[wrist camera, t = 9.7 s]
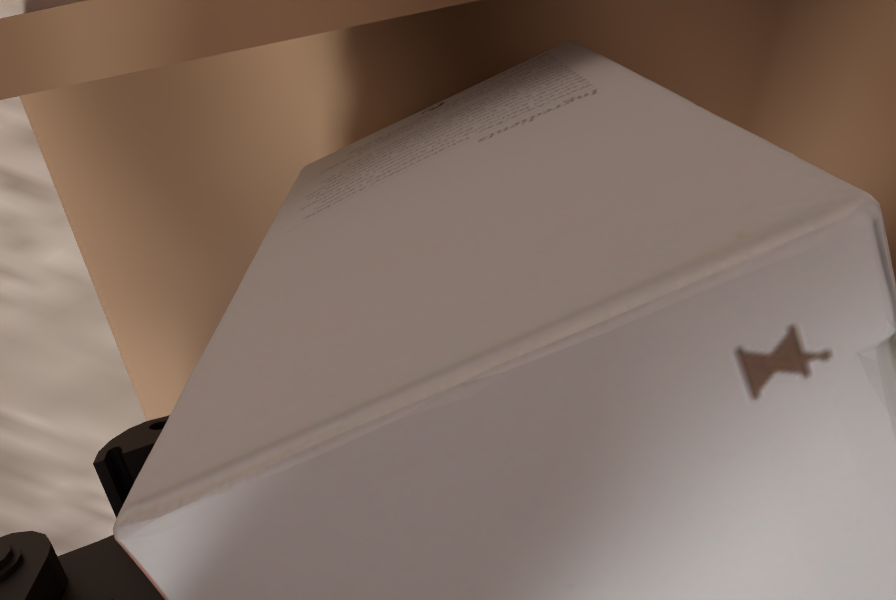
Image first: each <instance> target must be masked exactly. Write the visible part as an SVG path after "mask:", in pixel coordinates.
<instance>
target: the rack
mask: <svg viewBox="0 0 896 600" xmlns="http://www.w3.org/2000/svg"><path fill="white" fill-rule="evenodd" d="M569 40H572V41H574V42H576V43H578V44H580V45H582V46H584V47H586V48H588V49H590V50H592V51H594V52H596V53H598V54H600V55H602V56H604V57H606V58H608V59H610V60H612V61H614V62H616V63H618V64H620V65H622V66H623V67H625V68H627V69H629V70H631V71H633V72H635V73H637V74H639V75H640V76H642V77H644V78H647V79H649V80H651V81H653V82H655V83H657V84H658V85H660V86H662V87H664V88H666V89H668V90H670V91H672V92H674V93H676V94H677V95H679V96H681V97H683V98H685V99H687V100H689V101H691V102H692V103H694V104H695V105H697V106H699V107H702V108H704V109H705V110H707V111H709V112H711V113H713V114H715V115H717V116H719V117H721V118H723V119H725V120H727V121H729V122H731V123H733V124H735V125H737V126H739V127H741V128H743V129H745V130H747V131H749V132H751V133H753V134H755V135H757V136H759V137H761V138H763V139H765V140H767V141H769V142H770V143H772V144H774V145H776V146H777V147H779V148H781V149H783V150H786V151H788V152H790V153H792V154H794V155H795V156H797V157H798V158H800V159H802V160H804V161H806V162H808V163H810V164H812V165H814V166H816V167H818V168H819V169H821V170H823V171H825V172H827V173H829V174H831V175H833V176H835V177H837V178H839V179H841V180H843V181H845V182H847V183H849V184H851V185H853V186H855V187H857V188H859V189H861V190H863V191H865V192H867V193H869V194H870V195H871V196H872V197H874V198H875V199H876V200H877V201H878V202H879V204H880V208H881V212H882V216H883V221H884V225H885V230H886V235H887V241H888V246H889V251H890V257H891V262H892V267H893V272H894V277H895V281H896V0H86V1H81V2H76V3H72V4H67V5H62V6H57V7H53V8H48V9H43V10H39V11H34V12H29V13H25V14H20V15H15V16H11V17H6V18H1V19H0V100H2V99H7V98H12V97H17V96H20V98H21V101H22V103H23V106H24V108H25V111H26V113H27V116H28V119H29V121H30V124H31V126H32V129H33V131H34V134H35V136H36V139H37V142H38V144H39V147H40V149H41V152H42V154H43V157H44V159H45V162H46V164H47V167H48V170H49V172H50V175H51V177H52V180H53V182H54V185H55V187H56V190H57V193H58V195H59V198H60V200H61V203H62V205H63V208H64V210H65V213H66V216H67V218H68V221H69V223H70V226H71V228H72V231H73V233H74V236H75V239H76V241H77V244H78V246H79V249H80V251H81V254H82V256H83V259H84V262H85V264H86V267H87V269H88V272H89V274H90V277H91V279H92V282H93V285H94V287H95V290H96V292H97V295H98V297H99V300H100V302H101V305H102V307H103V310H104V313H105V315H106V318H107V320H108V323H109V325H110V328H111V330H112V333H113V336H114V338H115V341H116V343H117V346H118V348H119V351H120V353H121V356H122V359H123V361H124V364H125V366H126V369H127V371H128V374H129V376H130V379H131V382H132V384H133V387H134V389H135V392H136V394H137V397H138V399H139V402H140V405H141V407H142V410H143V412H144V415H145V417H146V420H147V421H149V420H152V419H156V418H160V417H164V416H168V415H170V414H171V412H172V410H173V408H174V406H175V404H176V402H177V400H178V399H179V397H180V395H181V393H182V391H183V389H184V387H185V385H186V383H187V381H188V379H189V377H190V375H191V373H192V371H193V369H194V368H195V366H196V364H197V362H198V361H199V359H200V357H201V355H202V354H203V352H204V350H205V348H206V347H207V345H208V343H209V341H210V339H211V337H212V335H213V334H214V332H215V330H216V328H217V326H218V324H219V323H220V321H221V319H222V317H223V315H224V314H225V312H226V310H227V308H228V306H229V304H230V302H231V300H232V298H233V297H234V295H235V293H236V291H237V289H238V287H239V285H240V283H241V281H242V279H243V277H244V275H245V273H246V271H247V270H248V268H249V266H250V264H251V262H252V260H253V259H254V257H255V255H256V253H257V251H258V249H259V247H260V246H261V244H262V242H263V240H264V238H265V236H266V234H267V233H268V231H269V228H270V226H271V224H272V223H273V221H274V219H275V217H276V215H277V213H278V212H279V210H280V208H281V206H282V204H283V203H284V201H285V199H286V197H287V195H288V193H289V191H290V189H291V187H292V186H293V184H294V182H295V181H296V179H297V177H298V175H299V173H300V171H301V170H302V168H303V167H305V166H306V165H308V164H310V163H312V162H314V161H317V160H319V159H321V158H323V157H325V156H327V155H329V154H331V153H333V152H335V151H338V150H340V149H342V148H344V147H346V146H348V145H350V144H352V143H354V142H356V141H358V140H360V139H362V138H365V137H367V136H369V135H371V134H373V133H375V132H377V131H379V130H381V129H383V128H386V127H388V126H390V125H392V124H394V123H396V122H398V121H400V120H402V119H405V118H407V117H409V116H411V115H413V114H415V113H417V112H419V111H422V110H424V109H426V108H428V107H430V106H432V105H434V104H436V103H439V102H441V101H443V100H445V99H447V98H449V97H451V96H453V95H456V94H458V93H460V92H462V91H464V90H466V89H468V88H470V87H472V86H474V85H476V84H479V83H481V82H483V81H485V80H487V79H489V78H491V77H493V76H495V75H497V74H499V73H502V72H504V71H506V70H508V69H510V68H512V67H514V66H516V65H519V64H521V63H523V62H525V61H527V60H529V59H531V58H534V57H536V56H538V55H540V54H542V53H544V52H546V51H548V50H550V49H552V48H554V47H556V46H558V45H560V44H562V43H564V42H566V41H569Z"/></svg>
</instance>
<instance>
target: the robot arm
mask: <svg viewBox="0 0 896 600" xmlns="http://www.w3.org/2000/svg"><path fill="white" fill-rule="evenodd" d="M895 282H896V281H895ZM169 416H170V415H168V416H164V417H160V418H156V419H152V420H149V421H146V422H144V423H142V424H139V425H137V426H134V427H132V428H130V429H128V430H126V431H125V432H123V433H121V434H120V435H118V436H117V437H115V438H113V439H112V440H110V441H109V442H108V443H107V444H106V445H105V446H104V447H103V448H102V449H101V450H100V451H99V452H98V454H97V456H96V458H95V461H94V463H93V465H94V467H95V469H96V472H97V474H98V476H99V479H100V481H101V483H102V486H103V488H104V490H105V493H106V495H107V497H108V500H109V502H110V504H111V506H112V509H113V511H114V513H115V516H116V518H117V516H118V514H119V512H120V510H121V508H122V506H123V504H124V502H125V500H126V498H127V496H128V494H129V492H130V490H131V488H132V486H133V484H134V482H135V480H136V478H137V476H138V475H139V473H140V471H141V469H142V467H143V465H144V463H145V461H146V460H147V458H148V456H149V454H150V452H151V450H152V448H153V446H154V444H155V443H156V441H157V439H158V437H159V435H160V433H161V432H162V430H163V428H164V426H165V424H166V422H167V420H168V418H169ZM0 600H165V599H164V597H163V596H162V595H161V594H160V592H159V591H158V590H157V589H156V587H155V586H154V585H153V584H152V582H151V581H150V580H149V579H148V577H147V576H146V575H145V574H144V573H143V571H142V570H141V569H140V568H139V567H138V565H137V564H136V563H135V562H134V561H133V559H132V558H131V557H130V556H129V555H128V553H127V552H126V551H125V550H124V549H123V548H122V546H121V545H120V544H119V543H118V542H117V541H116V540H115V538H114V535H112V536H109V537H107V538H105V539H102V540H100V541H98V542H95V543H92V544H90V545H87V546H84V547H82V548H79V549H76V550H74V551H71V552H68V553H66V554H63V555H60V556H58V557H57V555H56V553H55V551H54V549H53V546H52V544H51V542H50V541H49V539H48V538H47V536H46V535H45V534H42V533H38V532H34V531H27V532H18V533H12V534H9V535H6V536H3V537H0Z"/></svg>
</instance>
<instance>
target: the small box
mask: <svg viewBox="0 0 896 600" xmlns="http://www.w3.org/2000/svg"><path fill="white" fill-rule="evenodd" d="M113 532H114V538H115V540H116V541H117V542H118V543H119V544H120V545H121V546H122V548H123V549H124V550H125V551H126V552H127V553H128V555H129V556H130V557H131V558H132V559H133V561H134V562H135V563H136V564H137V565H138V567H139V568H140V569H141V570H142V571H143V573H144V574H145V575H146V576H147V577H148V579H149V580H150V581H151V582H152V584H153V585H154V586H155V587H156V589H157V590H158V591H159V592H160V594H161V595H162V596H163V597H164V599H165V600H896V282H895V277H894V272H893V267H892V262H891V257H890V251H889V246H888V241H887V235H886V230H885V225H884V221H883V216H882V212H881V208H880V204H879V202H878V201H877V200H876V199H875V198H874V197H872V196H871V195H870V194H869V193H867V192H865V191H863V190H861V189H859V188H857V187H855V186H853V185H851V184H849V183H847V182H845V181H843V180H841V179H839V178H837V177H835V176H833V175H831V174H829V173H827V172H825V171H823V170H821V169H819V168H818V167H816V166H814V165H812V164H810V163H808V162H806V161H804V160H802V159H800V158H798V157H797V156H795V155H794V154H792V153H790V152H788V151H786V150H783V149H781V148H779V147H777V146H776V145H774V144H772V143H770V142H769V141H767V140H765V139H763V138H761V137H759V136H757V135H755V134H753V133H751V132H749V131H747V130H745V129H743V128H741V127H739V126H737V125H735V124H733V123H731V122H729V121H727V120H725V119H723V118H721V117H719V116H717V115H715V114H713V113H711V112H709V111H707V110H705V109H704V108H702V107H699V106H697V105H695V104H694V103H692V102H691V101H689V100H687V99H685V98H683V97H681V96H679V95H677V94H676V93H674V92H672V91H670V90H668V89H666V88H664V87H662V86H660V85H658V84H657V83H655V82H653V81H651V80H649V79H647V78H644V77H642V76H640V75H639V74H637V73H635V72H633V71H631V70H629V69H627V68H625V67H623V66H622V65H620V64H618V63H616V62H614V61H612V60H610V59H608V58H606V57H604V56H602V55H600V54H598V53H596V52H594V51H592V50H590V49H588V48H586V47H584V46H582V45H580V44H578V43H576V42H574V41H572V40H569V41H566V42H564V43H562V44H560V45H558V46H556V47H554V48H552V49H550V50H548V51H546V52H544V53H542V54H540V55H538V56H536V57H534V58H531V59H529V60H527V61H525V62H523V63H521V64H519V65H516V66H514V67H512V68H510V69H508V70H506V71H504V72H502V73H499V74H497V75H495V76H493V77H491V78H489V79H487V80H485V81H483V82H481V83H479V84H476V85H474V86H472V87H470V88H468V89H466V90H464V91H462V92H460V93H458V94H456V95H453V96H451V97H449V98H447V99H445V100H443V101H441V102H439V103H436V104H434V105H432V106H430V107H428V108H426V109H424V110H422V111H419V112H417V113H415V114H413V115H411V116H409V117H407V118H405V119H402V120H400V121H398V122H396V123H394V124H392V125H390V126H388V127H386V128H383V129H381V130H379V131H377V132H375V133H373V134H371V135H369V136H367V137H365V138H362V139H360V140H358V141H356V142H354V143H352V144H350V145H348V146H346V147H344V148H342V149H340V150H338V151H335V152H333V153H331V154H329V155H327V156H325V157H323V158H321V159H319V160H317V161H314V162H312V163H310V164H308V165H306V166H305V167H303V168H302V170H301V171H300V173H299V175H298V177H297V179H296V181H295V182H294V184H293V186H292V187H291V189H290V191H289V193H288V195H287V197H286V199H285V201H284V203H283V204H282V206H281V208H280V210H279V212H278V213H277V215H276V217H275V219H274V221H273V223H272V224H271V226H270V228H269V231H268V233H267V234H266V236H265V238H264V240H263V242H262V244H261V246H260V247H259V249H258V251H257V253H256V255H255V257H254V259H253V260H252V262H251V264H250V266H249V268H248V270H247V271H246V273H245V275H244V277H243V279H242V281H241V283H240V285H239V287H238V289H237V291H236V293H235V295H234V297H233V298H232V300H231V302H230V304H229V306H228V308H227V310H226V312H225V314H224V315H223V317H222V319H221V321H220V323H219V324H218V326H217V328H216V330H215V332H214V334H213V335H212V337H211V339H210V341H209V343H208V345H207V347H206V348H205V350H204V352H203V354H202V355H201V357H200V359H199V361H198V362H197V364H196V366H195V368H194V369H193V371H192V373H191V375H190V377H189V379H188V381H187V383H186V385H185V387H184V389H183V391H182V393H181V395H180V397H179V399H178V400H177V402H176V404H175V406H174V408H173V410H172V412H171V414H170V416H169V418H168V420H167V422H166V424H165V426H164V428H163V430H162V432H161V433H160V435H159V437H158V439H157V441H156V443H155V444H154V446H153V448H152V450H151V452H150V454H149V456H148V458H147V460H146V461H145V463H144V465H143V467H142V469H141V471H140V473H139V475H138V476H137V478H136V480H135V482H134V484H133V486H132V488H131V490H130V492H129V494H128V496H127V498H126V500H125V502H124V504H123V506H122V508H121V510H120V512H119V514H118V516H117V519H116V521H115V524H114V526H113Z"/></svg>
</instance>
